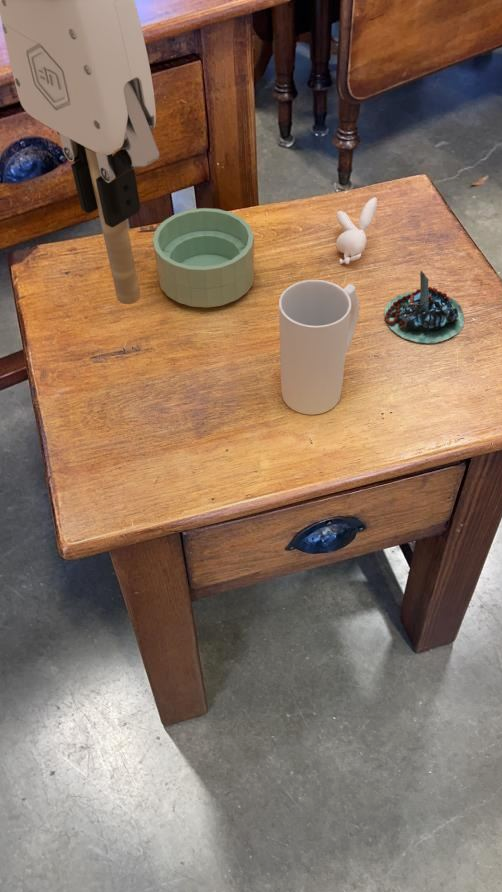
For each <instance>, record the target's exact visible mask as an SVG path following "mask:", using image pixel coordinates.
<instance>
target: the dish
mask: <svg viewBox="0 0 502 892" xmlns="http://www.w3.org/2000/svg"><path fill="white" fill-rule="evenodd" d="M419 276H420V277H419V278H420V287H419V288H418V289H416V290H415V291H409V292H405V293H402V294H398V295H397V296H395V297H394V298H393V299H391V300H390V301H389V302H388V303H387V305H386V307H385V309H384V316H383V317H384V321H385V322H386V325H387V326H388V328H389V329H390V330H391V331H393V332H394V334H396V335H398V336H400V337H401V338H403V339H405V340H409V341H411V342H415V343H422V344H436V343H439V342H444V341H445V340H446V341H447V340H448V339H450V338H452V337H454V336H456V335H458V334H459V333H460V332H461V331H462V329H463V327H464V323H465V317H464V311H463V309H462V306H461V305H460V303H459V302H457V301H456V300H455V299H454V298H452V297H450V296H448V294H447V293H446V292H442V291H441V290H440V291H439V290H438V289H437V287H431V286H429V278H428V277H427V275H426V274H425V273H424V272H423V270H420V273H419Z"/></svg>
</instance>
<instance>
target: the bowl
mask: <svg viewBox="0 0 502 892" xmlns="http://www.w3.org/2000/svg"><path fill="white" fill-rule="evenodd" d="M152 245H153V252H154V253H153V254H154V258H155V266H156V274H157V279H158V283H159V287H160V289H161V290H162V292H163V293H164V294H165V295H166V296H167V297H168V298H170V299H172V300H173V301H174V302H176V303H179V304H182V305H184V306H185V305H186V306H189V307H193V308H213V307H221V306H224V305H225V306H226V305H227V304H231V303H232V302H235V301H237V300H239V299H241V298H242V297H243V296H244V295H246V294H247V293H248V292H249V290H250V289H251V287H252V286H253V285H254V283H255V276H256V261H255V258H256V257H255V255H256V254H255V235H254V232H253V229H252V227H251V225H250V224H249V223H248V222H247V221H246V220H245V218H242V217H241V216H240V215H237V214H235V213H233V212H231V211H227V210H223V209H220V208H211V207H210V208H209V207H203V208H202V207H201V208H193V209H187V210H184V211H180V212H177V213H175V214H173V215H171V216H170V217H168V218H166V219H164V220H163V221H162V222H161V223H160V224H159V225H158V227H157V228H155V230H154V234H153V237H152Z"/></svg>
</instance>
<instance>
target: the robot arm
mask: <svg viewBox="0 0 502 892" xmlns="http://www.w3.org/2000/svg"><path fill="white" fill-rule="evenodd" d="M0 21H1V26H2V32H3V36H4V41H5V45H6V51H7V56H8V59H9V64H10V69H11V73H12V78H13V82H14V85H15V89H16V92H17V97H18V100H19V102H20V105H21V107H22V109H24V111H25V112H26V113H27V114H28V115H29V116H31V117H32V118H33V119H35V120H36V121H38V122H40V123H41V124H43V125H45V126H46V127H48V128H49V129H51V130H54V131H55V132H56V133H57V134H58V136H59V140H60V144H61V148H62V152H63V154H64V157H65V159H67V160H68V161H69V162H70V163H72V164H70V166H71V171H72V172H71V173H72V176H73V179H74V185H75V189H76V193H77V197H78V201H79V205H80V209H81V210H82V211H83V212H85V213H87V214H90V213H93V212H94V211H96V210H98V207H97V203H96V198H95V193H94V189H93V184H92V180H91V175H90V170H89V166H88V161H87V156H86V152H85V147H86V148H88V149H90V150H92V151H94V152H95V153H96V157H97V162H98V167H99V172H100V175H101V176H100V177H98V178H97V179H96V183H97V188H98V193H99V198H100V202H101V207H102V212H103V216H104V221H105V224H106V225H108V226H110V227H115V226H116V225H118V224H120V223H121V222H123V221H125V220H126V221H127V220H128V219H130V218H131V217H133V216H135V215H136V214H138V213H139V212H140V210H141V202H140V195H139V190H138V184H137V178H136V171H135V169H136V168H146V167H148V166H149V165H151V164H153V163H155V162H156V161H158V160H160V158H161V154H160V151H159V148H158V145H157V143H156V139H155V138H154V135H153V131H154V130H155V128H156V123H157V111H156V99H155V91H154V85H153V77H152V72H151V71H152V70H151V67H150V62H149V56H148V51H147V47H146V42H145V37H144V32H143V29H142V24H141V20H140V16H139V12H138V8H137V3H136V1H135V0H0ZM115 151H116V152H115ZM112 153H114V155H113V156H112Z"/></svg>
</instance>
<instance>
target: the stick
mask: <svg viewBox="0 0 502 892" xmlns="http://www.w3.org/2000/svg"><path fill="white" fill-rule="evenodd" d="M85 152H86V156H87V161H88V166H89V170H90V175H91V180H92V184H93V189H94V193H95V198H96V203H97V207H98V209H97V211H98V216H99V220H100V225H101V231H102V234H103V239H104V244H105V247H106V248H105V249H106V252H107V257H108V261H109V262H108V263H109V266H110V267H109V268H110V271H111V276H112V280H113V286H114V290H115V295H116V299H117V301H118V302H120V303H121V304H124V305H131V304H134V303H137V302H138V301H139V300H140V299H141V291H140V286H139V280H138V275H137V274H138V273H137V270H136V269H137V268H136V264H135V258H134V254H133V253H134V252H133V247H132V243H131V242H132V241H131V237H130V231H129V226H128V221H127V219H126V220H125V221H123V222H121V223H120V224H118V225H116V226H115V227H110V226H108V225H106V224H105V221H104V216H103V212H102V207H101V202H100V198H99V193H98V188H97V183H96V179H97V178H98V177H100V176H101V175H100V172H99V167H98V162H97V157H96V153H95V152H94V151H92V150H90V149H88V148H86V147H85ZM114 154H115V152H114V153H112V156H113V155H114Z"/></svg>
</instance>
